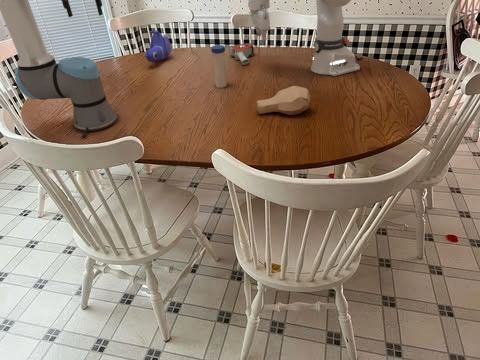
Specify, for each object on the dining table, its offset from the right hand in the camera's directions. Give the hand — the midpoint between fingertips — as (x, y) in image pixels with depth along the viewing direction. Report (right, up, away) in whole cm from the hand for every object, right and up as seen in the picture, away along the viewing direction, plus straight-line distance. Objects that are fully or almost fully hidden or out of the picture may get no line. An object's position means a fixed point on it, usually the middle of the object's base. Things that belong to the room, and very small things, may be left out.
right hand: (261, 38), depth 160 cm
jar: (-18, -22, -3) cm, 29 cm away
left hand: (-78, +9, -3) cm, 79 cm away
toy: (-53, -1, +29) cm, 60 cm away
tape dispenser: (-9, 0, +26) cm, 28 cm away
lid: (-19, -9, -12) cm, 24 cm away
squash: (+7, -39, -27) cm, 48 cm away
